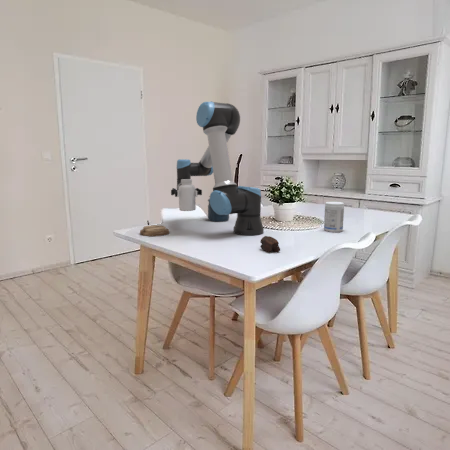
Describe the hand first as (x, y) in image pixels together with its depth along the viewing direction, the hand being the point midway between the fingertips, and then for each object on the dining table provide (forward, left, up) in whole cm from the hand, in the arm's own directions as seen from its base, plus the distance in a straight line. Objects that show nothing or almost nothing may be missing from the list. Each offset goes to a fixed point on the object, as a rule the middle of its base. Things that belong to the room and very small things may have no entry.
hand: (187, 194), depth 175 cm
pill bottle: (+3, -2, -8) cm, 9 cm away
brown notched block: (-44, -7, -20) cm, 50 cm away
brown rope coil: (+15, +9, -20) cm, 27 cm away
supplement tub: (-42, -63, -20) cm, 78 cm away
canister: (+21, -40, -20) cm, 50 cm away
